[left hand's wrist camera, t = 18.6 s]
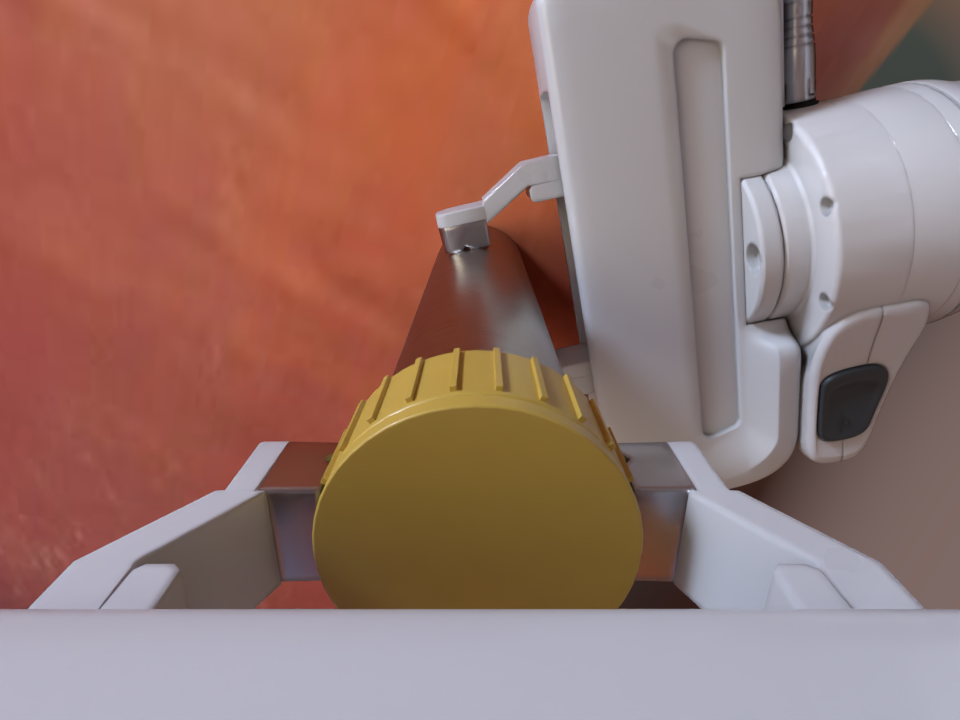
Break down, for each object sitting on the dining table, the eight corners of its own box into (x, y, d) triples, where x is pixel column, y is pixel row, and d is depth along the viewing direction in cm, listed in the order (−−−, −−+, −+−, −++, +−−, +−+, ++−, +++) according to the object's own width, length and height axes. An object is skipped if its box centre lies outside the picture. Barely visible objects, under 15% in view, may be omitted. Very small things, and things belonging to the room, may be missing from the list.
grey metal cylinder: (417, 269, 27) (293, 525, 9) (478, 205, 25) (475, 352, 8) (479, 327, 28) (479, 657, 10) (540, 268, 27) (662, 523, 9)
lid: (636, 549, 11) (671, 641, 9) (393, 600, 11) (374, 699, 9) (584, 311, 9) (614, 359, 7) (298, 385, 10) (251, 451, 8)
